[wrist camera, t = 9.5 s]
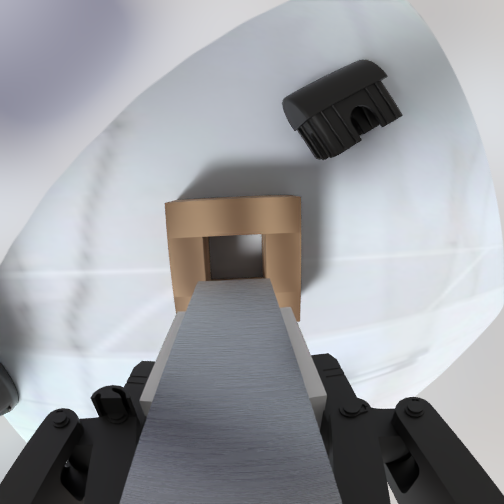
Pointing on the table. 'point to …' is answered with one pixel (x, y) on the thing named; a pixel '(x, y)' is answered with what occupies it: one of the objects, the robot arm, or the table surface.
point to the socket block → (236, 223)
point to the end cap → (341, 108)
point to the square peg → (231, 410)
